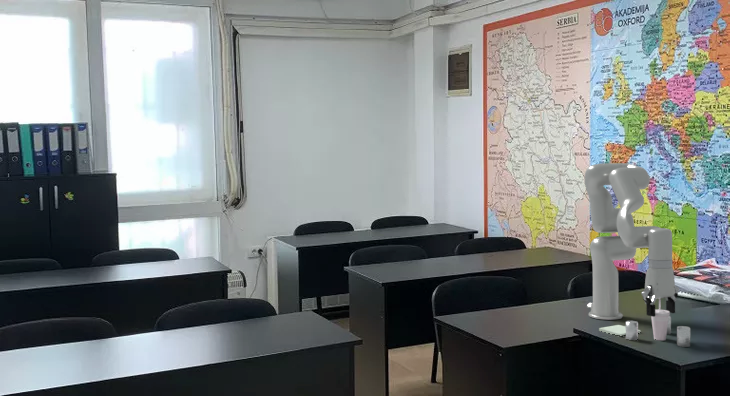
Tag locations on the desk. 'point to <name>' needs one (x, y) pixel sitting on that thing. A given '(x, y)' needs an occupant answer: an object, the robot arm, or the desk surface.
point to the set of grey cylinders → (682, 333)
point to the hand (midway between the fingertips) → (660, 314)
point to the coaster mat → (615, 330)
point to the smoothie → (660, 323)
